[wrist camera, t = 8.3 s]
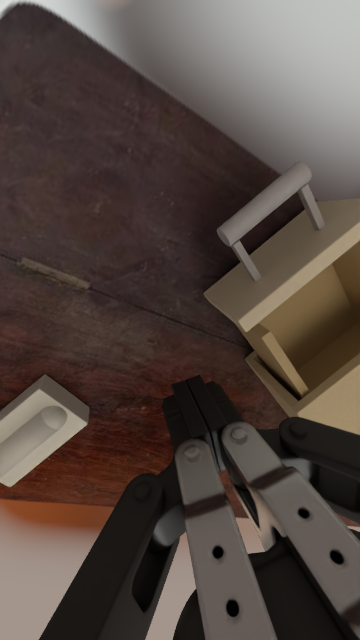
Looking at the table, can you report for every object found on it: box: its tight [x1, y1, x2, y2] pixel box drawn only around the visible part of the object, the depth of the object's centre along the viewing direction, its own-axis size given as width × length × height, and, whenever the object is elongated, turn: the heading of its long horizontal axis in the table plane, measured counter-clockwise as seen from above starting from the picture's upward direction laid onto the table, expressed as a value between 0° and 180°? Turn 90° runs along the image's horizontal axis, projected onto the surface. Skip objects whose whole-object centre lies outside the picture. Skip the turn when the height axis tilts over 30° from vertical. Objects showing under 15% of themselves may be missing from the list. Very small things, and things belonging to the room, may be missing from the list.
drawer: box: [203, 162, 360, 401], centre depth 23 cm, size 20×13×7 cm, turn 37°
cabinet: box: [245, 351, 360, 435], centre depth 28 cm, size 16×14×9 cm
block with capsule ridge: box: [0, 374, 89, 487], centre depth 24 cm, size 10×6×4 cm, turn 127°
